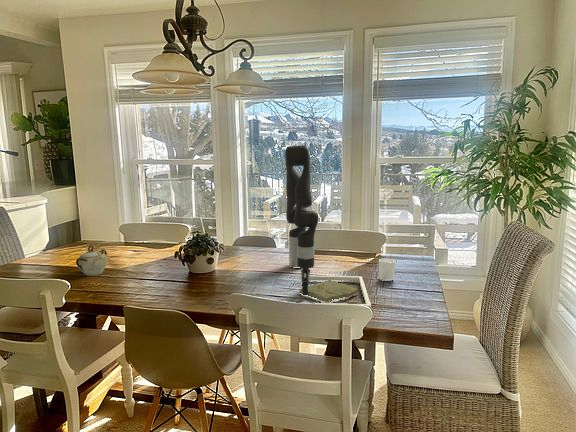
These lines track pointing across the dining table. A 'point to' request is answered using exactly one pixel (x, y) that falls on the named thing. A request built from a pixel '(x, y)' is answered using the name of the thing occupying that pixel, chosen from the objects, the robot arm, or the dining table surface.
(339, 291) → the decorative tile
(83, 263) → the sugar bowl
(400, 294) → the dining table surface
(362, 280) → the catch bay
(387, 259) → the white cup
